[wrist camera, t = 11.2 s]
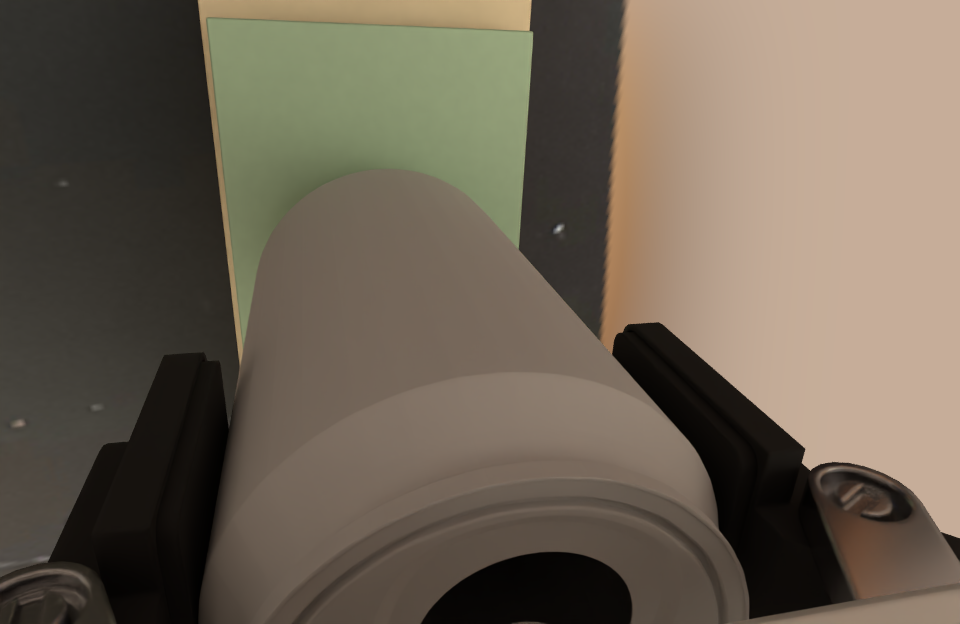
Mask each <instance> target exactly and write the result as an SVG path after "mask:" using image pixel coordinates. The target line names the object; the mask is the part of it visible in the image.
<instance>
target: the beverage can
mask: <svg viewBox="0 0 960 624" xmlns="http://www.w3.org/2000/svg"><path fill="white" fill-rule="evenodd" d="M748 619H749V594H748V589H747V584H746V580H745V576H744V572H743V569H742V567H741V564H740V562H739V560H738V558H737V556H736V554H735V552H734V551H733V549H732V547H731V545H730V544H729V542H728V541H727V540H726V539H725V537H724V536H723V535H722V533H721V532H720V531H719V525H718V510H717V504H716V499H715V495H714V491H713V487H712V483H711V480H710V478H709V475H708V473H707V471H706V469H705V467H704V465H703V463H702V461H701V459H700V457H699V455H698V453H697V452H696V450H695V449H694V447H693V446H692V445H691V443H690V442H689V441H688V440H687V439H686V437H685V436H684V435H683V434H682V433H681V432H680V431H679V430H678V428H677V427H676V426H675V425H674V424H673V423H672V422H671V421H670V419H669V418H668V417H667V416H666V415H665V414H664V413H663V412H662V410H661V409H660V408H659V407H658V406H657V405H656V404H655V403H654V401H653V400H652V399H651V398H650V397H649V396H648V395H647V394H646V392H645V391H644V390H643V389H642V388H641V387H640V386H639V385H638V383H637V382H636V381H635V380H634V379H633V378H632V377H631V376H630V374H629V373H628V372H627V371H626V370H625V369H624V368H623V367H622V365H621V364H620V363H619V362H618V361H617V360H616V359H615V358H614V357H613V355H612V354H611V353H610V352H609V351H608V350H607V349H606V348H605V346H604V345H603V344H602V343H601V342H600V341H599V340H598V339H597V337H596V336H595V335H594V334H593V333H592V332H591V331H590V330H589V328H588V327H587V326H586V325H585V324H584V323H583V322H582V321H581V319H580V318H579V317H578V316H577V315H576V314H575V313H574V312H573V310H572V309H571V308H570V307H569V306H568V305H567V304H566V303H565V301H564V300H563V299H562V298H561V297H560V296H559V295H558V294H557V292H556V291H555V290H554V289H553V288H552V287H551V286H550V285H549V283H548V282H547V281H546V280H545V279H544V278H543V277H542V276H541V274H540V273H539V272H538V271H537V270H536V269H535V268H534V267H533V265H532V264H531V263H530V262H529V261H528V260H527V259H526V258H525V256H524V255H523V254H522V253H521V252H520V251H519V250H518V249H517V247H516V246H515V245H514V244H513V243H512V242H511V241H510V240H509V238H508V237H507V236H506V235H505V234H504V233H503V232H502V231H501V229H500V228H499V227H498V226H497V225H496V224H495V223H494V222H493V220H492V219H491V218H490V217H489V216H488V215H487V214H486V213H485V212H484V211H483V210H482V209H481V208H480V207H479V206H478V205H477V204H476V203H475V202H474V201H473V200H472V199H471V198H470V197H469V196H467V195H466V194H465V193H464V192H462V191H461V190H459V189H458V188H456V187H454V186H452V185H451V184H449V183H447V182H445V181H443V180H441V179H438V178H436V177H433V176H430V175H427V174H423V173H419V172H415V171H408V170H400V169H373V170H366V171H361V172H357V173H352V174H349V175H345V176H343V177H340V178H337V179H335V180H333V181H330V182H328V183H326V184H324V185H322V186H320V187H318V188H317V189H315V190H314V191H312V192H310V193H309V194H308V195H306V196H305V197H304V198H302V199H301V200H300V201H299V202H298V203H297V204H295V205H294V206H293V207H292V208H291V209H290V210H289V211H288V212H287V213H286V214H285V216H284V217H283V218H282V219H281V221H280V222H279V223H278V225H277V226H276V227H275V229H274V230H273V232H272V233H271V235H270V237H269V239H268V241H267V243H266V245H265V247H264V250H263V252H262V255H261V258H260V262H259V265H258V269H257V274H256V279H255V285H254V291H253V296H252V302H251V308H250V313H249V319H248V325H247V330H246V336H245V342H244V347H243V353H242V359H241V364H240V370H239V376H238V381H237V387H236V393H235V398H234V404H233V410H232V415H231V421H230V427H229V432H228V438H227V444H226V449H225V455H224V461H223V466H222V472H221V478H220V484H219V489H218V495H217V501H216V506H215V512H214V518H213V523H212V529H211V535H210V540H209V546H208V552H207V557H206V563H205V569H204V574H203V580H202V586H201V591H200V598H199V613H198V624H726V623H732V622H737V621H743V620H748Z"/></svg>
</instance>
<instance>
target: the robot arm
mask: <svg viewBox="0 0 960 624" xmlns="http://www.w3.org/2000/svg"><path fill="white" fill-rule="evenodd" d="M612 355H613V357H614V358H615V359H616V360H617V361H618V362H619V363H620V364H621V365H622V367H623V368H624V369H625V370H626V371H627V372H628V373H629V374H630V376H631V377H632V378H633V379H634V380H635V381H636V382H637V383H638V385H639V386H640V387H641V388H642V389H643V390H644V391H645V392H646V394H647V395H648V396H649V397H650V398H651V399H652V400H653V401H654V403H655V404H656V405H657V406H658V407H659V408H660V409H661V410H662V412H663V413H664V414H665V415H666V416H667V417H668V418H669V419H670V421H671V422H672V423H673V424H674V425H675V426H676V427H677V428H678V430H679V431H680V432H681V433H682V434H683V435H684V436H685V437H686V439H687V440H688V441H689V442H690V443H691V445H692V446H693V447H694V449H695V450H696V452H697V453H698V455H699V457H700V459H701V461H702V463H703V465H704V467H705V469H706V471H707V473H708V475H709V478H710V480H711V483H712V487H713V491H714V495H715V499H716V504H717V510H718V525H719V531H720V532H721V533H722V535H723V536H724V537H725V539H726V540H727V541H728V542H729V544H730V545H731V547H732V549H733V551H734V552H735V554H736V556H737V558H738V560H739V562H740V564H741V567H742V569H743V572H744V576H745V580H746V584H747V589H748V594H749V619H748V620H743V621H737V622H732V623H726V624H960V538H957V537H954V536H951V535H948V534H945V533H942V532H940V530H939V529H938V527H937V526H936V524H935V522H934V521H933V519H932V518H931V516H930V515H929V513H928V512H927V510H926V508H925V507H924V506H923V504H922V502H921V501H920V500H919V499H918V498H917V496H916V495H915V494H914V493H913V492H912V491H911V490H910V489H908V488H907V487H906V486H904V485H903V484H902V483H900V482H899V481H897V480H895V479H893V478H891V477H889V476H888V475H886V474H884V473H881V472H879V471H876V470H873V469H870V468H867V467H865V466H860V465H855V464H851V463H838V462H832V463H825V464H820V465H818V466H817V467H815V468H813V469H812V470H811V471H810V470H809V469H808V468H807V467H805V466H804V465H803V464H802V459H803V456H804V452H805V448H804V447H803V446H801V445H800V444H799V443H798V442H797V441H796V440H795V439H793V438H792V437H791V436H790V435H789V434H788V433H786V432H785V431H784V430H783V429H782V428H781V427H780V426H778V425H777V424H776V423H775V422H774V421H773V420H772V419H770V418H769V417H768V416H767V415H766V414H765V413H764V412H762V411H761V410H760V409H759V408H758V407H757V406H756V405H754V404H753V403H752V402H751V401H750V400H749V399H747V398H746V397H745V396H744V395H743V394H742V393H741V392H739V391H738V390H737V389H736V388H735V387H734V386H733V385H731V384H730V383H729V382H728V381H727V380H726V379H724V378H723V377H722V376H721V375H720V374H719V373H717V372H716V371H715V370H714V369H713V368H712V367H711V366H710V365H708V364H707V363H706V362H705V361H704V360H703V359H701V358H700V357H699V356H698V355H697V354H696V353H695V352H693V351H692V350H691V349H690V348H689V347H688V346H686V345H685V344H684V343H683V342H682V341H681V340H680V339H678V338H677V337H676V336H675V335H674V334H673V333H672V332H670V331H669V330H668V329H667V328H666V327H665V326H664V325H662V324H660V323H659V322H658V323H643V324H628V325H627V326H626V327H625V329H624V331H623V333H618V334H617V335H616V337H615V340H614V345H613V353H612ZM228 432H229V428H228V420H227V412H226V404H225V397H224V389H223V381H222V373H221V367H220V363H219V361H207V359H206V356H205V354H204V353H203V352H202V353H187V354H172V355H164V357H163V359H162V361H161V364H160V366H159V369H158V371H157V374H156V376H155V378H154V381H153V383H152V386H151V388H150V391H149V393H148V396H147V398H146V401H145V403H144V405H143V408H142V410H141V413H140V415H139V418H138V420H137V423H136V425H135V428H134V430H133V432H132V435H131V437H130V440H129V442H119V443H108V444H106V445H103V447H102V448H101V450H100V451H99V454H98V456H97V458H96V460H95V462H94V464H93V466H92V469H91V471H90V473H89V475H88V477H87V479H86V482H85V484H84V486H83V488H82V490H81V492H80V494H79V497H78V499H77V501H76V503H75V505H74V507H73V509H72V512H71V514H70V516H69V518H68V520H67V522H66V525H65V527H64V529H63V531H62V533H61V535H60V537H59V540H58V542H57V544H56V546H55V548H54V550H53V552H52V555H51V557H50V559H49V561H48V563H40V564H36V565H33V566H29V567H26V568H22V569H19V570H15V571H13V572H11V573H9V574H7V575H5V576H2V577H0V624H198V613H199V598H200V591H201V586H202V580H203V574H204V569H205V563H206V557H207V552H208V546H209V540H210V535H211V529H212V523H213V518H214V512H215V506H216V501H217V495H218V489H219V484H220V478H221V472H222V466H223V461H224V455H225V449H226V444H227V438H228Z"/></svg>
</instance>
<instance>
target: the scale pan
mask: <svg viewBox="0 0 960 624" xmlns="http://www.w3.org/2000/svg"><path fill="white" fill-rule="evenodd" d="M206 24H207V33H208V42H209V51H210V60H211V69H212V78H213V87H214V96H215V105H216V114H217V122H218V131H219V140H220V149H221V158H222V167H223V176H224V185H225V194H226V203H227V212H228V221H229V230H230V239H231V248H232V257H233V266H234V275H235V283H236V292H237V301H238V310H239V319H240V328H241V337H242V346H243V347H244V342H245V336H246V330H247V325H248V319H249V313H250V308H251V302H252V296H253V291H254V285H255V279H256V274H257V269H258V265H259V262H260V258H261V255H262V252H263V250H264V247H265V245H266V243H267V241H268V239H269V237H270V235H271V233H272V232H273V230H274V229H275V227H276V226H277V225H278V223H279V222H280V221H281V219H282V218H283V217H284V216H285V214H286V213H287V212H288V211H289V210H290V209H291V208H292V207H293V206H294V205H295V204H297V203H298V202H299V201H300V200H301V199H302V198H304V197H305V196H306V195H308V194H309V193H310V192H312V191H314V190H315V189H317V188H318V187H320V186H322V185H324V184H326V183H328V182H330V181H333V180H335V179H337V178H340V177H343V176H345V175H349V174H352V173H357V172H361V171H366V170H373V169H400V170H408V171H415V172H419V173H423V174H427V175H430V176H433V177H436V178H438V179H441V180H443V181H445V182H447V183H449V184H451V185H452V186H454V187H456V188H458V189H459V190H461V191H462V192H464V193H465V194H466V195H467V196H469V197H470V198H471V199H472V200H473V201H474V202H475V203H476V204H477V205H478V206H479V207H480V208H481V209H482V210H483V211H484V212H485V213H486V214H487V215H488V216H489V217H490V218H491V219H492V220H493V222H494V223H495V224H496V225H497V226H498V227H499V228H500V229H501V231H502V232H503V233H504V234H505V235H506V236H507V237H508V238H509V240H510V241H511V242H512V243H513V244H514V245H515V246H516V247H517V249H518V250H519V236H520V221H521V207H522V192H523V177H524V163H525V148H526V133H527V119H528V104H529V89H530V75H531V60H532V45H533V32H532V31H519V30H496V29H473V28H450V27H426V26H403V25H380V24H357V23H334V22H311V21H287V20H264V19H241V18H218V17H208V18H206Z"/></svg>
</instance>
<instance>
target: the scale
mask: <svg viewBox="0 0 960 624" xmlns="http://www.w3.org/2000/svg"><path fill="white" fill-rule="evenodd" d="M198 7H199V15H200V24H201V33H202V42H203V50H204V59H205V68H206V76H207V85H208V94H209V102H210V111H211V120H212V128H213V137H214V146H215V155H216V163H217V172H218V181H219V189H220V198H221V207H222V215H223V224H224V233H225V241H226V250H227V259H228V267H229V276H230V285H231V294H232V302H233V311H234V320H235V328H236V337H237V346H238V354H239V363H240V364H241V359H242V353H243V346H242V337H241V328H240V319H239V310H238V301H237V292H236V283H235V275H234V266H233V257H232V248H231V239H230V230H229V221H228V212H227V203H226V194H225V185H224V176H223V167H222V158H221V149H220V140H219V131H218V122H217V114H216V105H215V96H214V87H213V78H212V69H211V60H210V51H209V42H208V33H207V24H206V18H208V17H218V18H241V19H264V20H287V21H311V22H334V23H357V24H380V25H403V26H426V27H450V28H473V29H496V30H519V31H529V29H530V14H531V0H198Z"/></svg>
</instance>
